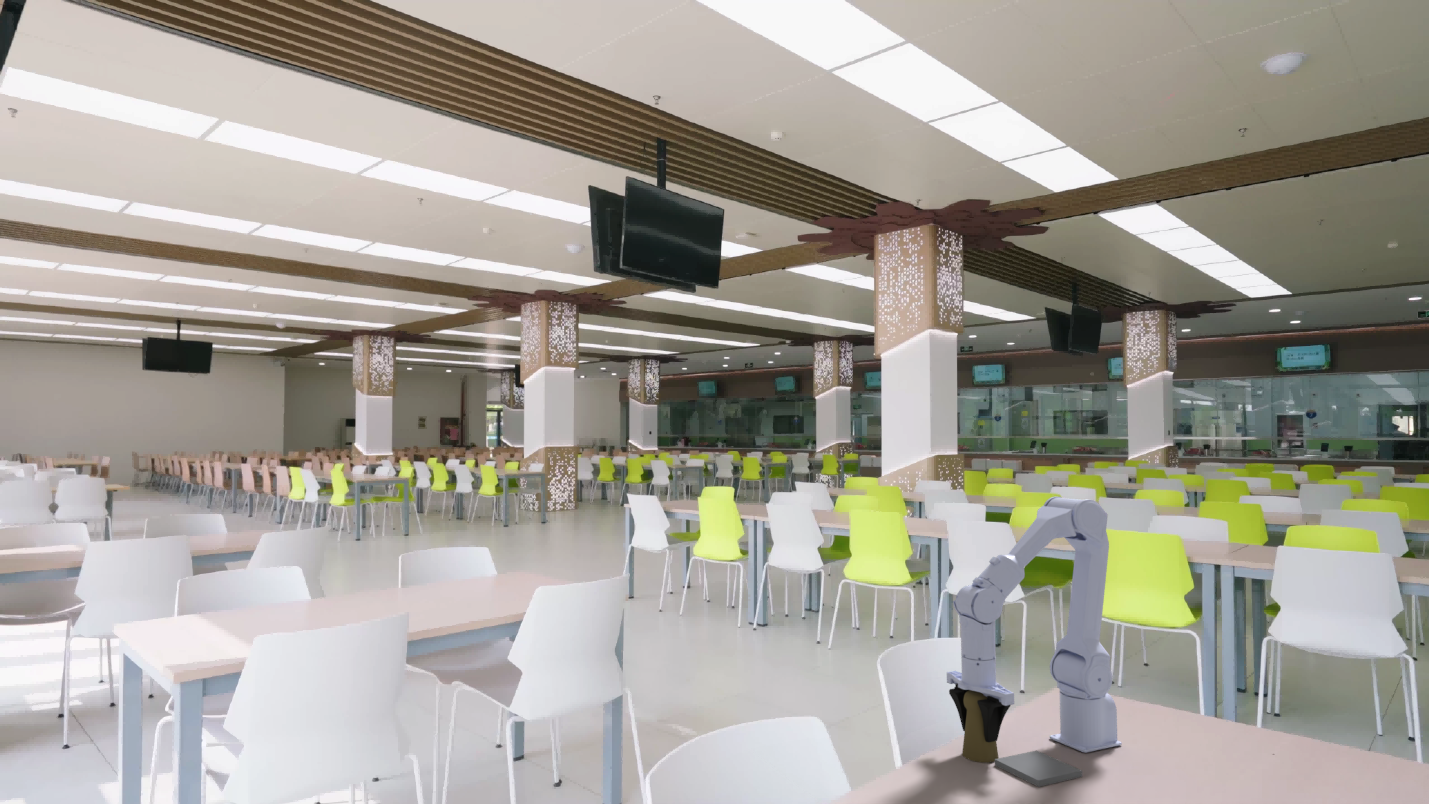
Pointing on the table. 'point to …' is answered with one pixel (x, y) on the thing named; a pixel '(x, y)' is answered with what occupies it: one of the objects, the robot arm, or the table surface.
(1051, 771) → the mat
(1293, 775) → the table surface
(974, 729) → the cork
